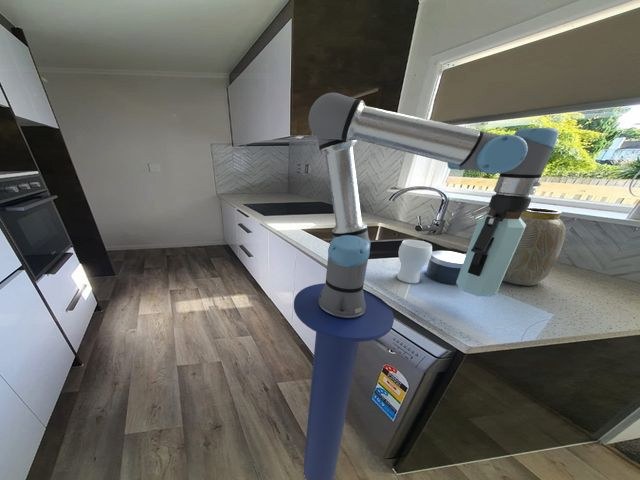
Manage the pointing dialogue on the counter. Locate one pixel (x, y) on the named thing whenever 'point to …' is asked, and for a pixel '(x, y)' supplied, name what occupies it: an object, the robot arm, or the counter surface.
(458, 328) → the counter surface
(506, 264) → the water bottle
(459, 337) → the counter surface
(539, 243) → the vase
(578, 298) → the counter surface
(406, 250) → the cup
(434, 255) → the navy round container
